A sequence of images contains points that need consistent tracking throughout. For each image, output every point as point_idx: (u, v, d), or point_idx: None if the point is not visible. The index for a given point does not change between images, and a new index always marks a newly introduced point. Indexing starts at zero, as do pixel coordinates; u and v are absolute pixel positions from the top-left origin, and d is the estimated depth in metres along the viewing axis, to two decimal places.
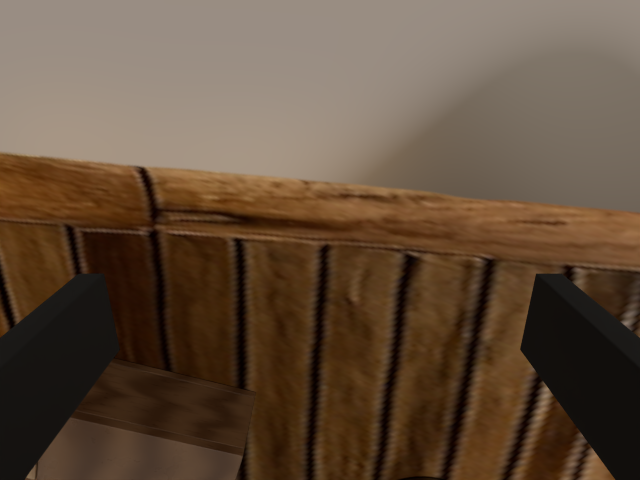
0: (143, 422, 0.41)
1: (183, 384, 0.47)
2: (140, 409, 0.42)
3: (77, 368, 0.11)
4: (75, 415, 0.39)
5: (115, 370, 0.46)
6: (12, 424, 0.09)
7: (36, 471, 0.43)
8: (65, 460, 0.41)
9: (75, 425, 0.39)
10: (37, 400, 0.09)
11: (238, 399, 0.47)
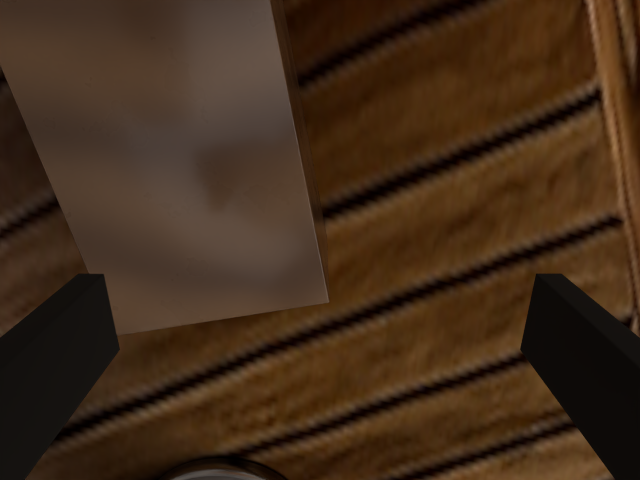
0: (290, 89, 0.18)
1: (304, 122, 0.25)
2: (288, 68, 0.20)
3: (77, 368, 0.11)
4: None
5: None
6: (12, 424, 0.09)
7: None
8: None
9: None
10: (37, 401, 0.09)
11: (322, 223, 0.27)
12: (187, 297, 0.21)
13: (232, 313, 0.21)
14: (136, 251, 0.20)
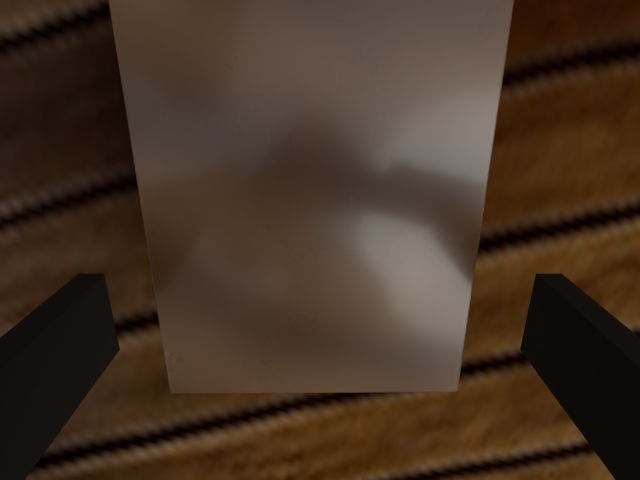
0: None
1: None
2: None
3: (77, 368, 0.11)
4: None
5: None
6: (12, 424, 0.09)
7: None
8: None
9: None
10: (37, 401, 0.09)
11: None
12: (280, 360, 0.16)
13: (332, 387, 0.16)
14: (230, 294, 0.15)
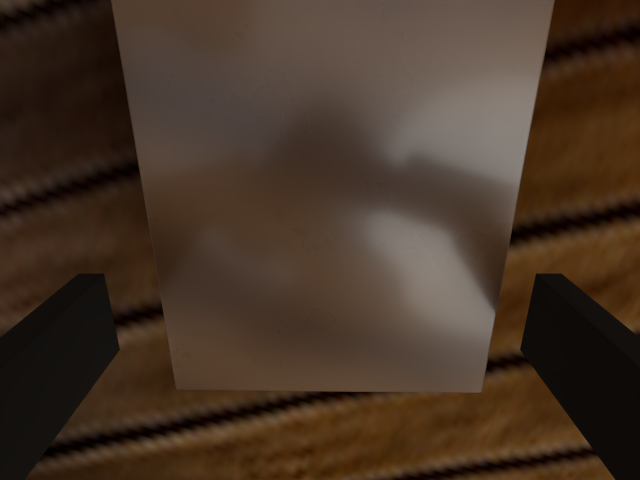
0: None
1: None
2: None
3: (77, 368, 0.11)
4: None
5: None
6: (12, 424, 0.09)
7: None
8: None
9: None
10: (37, 400, 0.09)
11: None
12: (292, 357, 0.15)
13: (347, 386, 0.15)
14: (239, 286, 0.14)
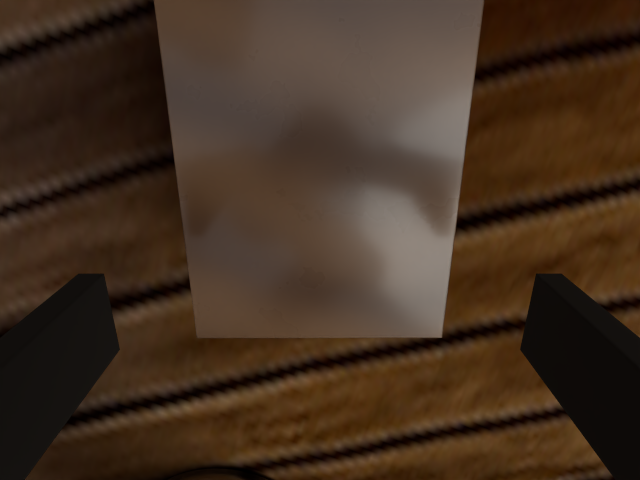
0: None
1: None
2: None
3: (77, 368, 0.11)
4: None
5: None
6: (12, 424, 0.09)
7: None
8: None
9: None
10: (37, 400, 0.09)
11: None
12: (290, 309, 0.19)
13: (334, 333, 0.19)
14: (249, 250, 0.18)
